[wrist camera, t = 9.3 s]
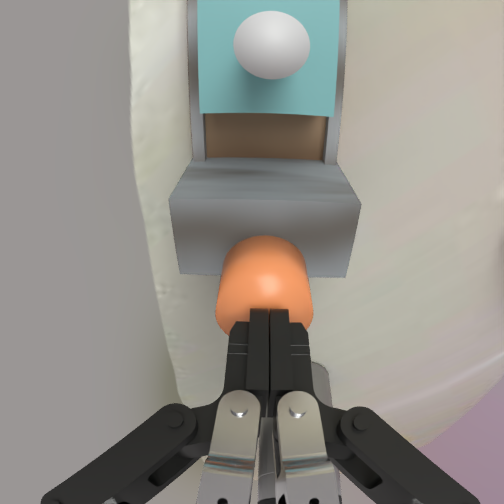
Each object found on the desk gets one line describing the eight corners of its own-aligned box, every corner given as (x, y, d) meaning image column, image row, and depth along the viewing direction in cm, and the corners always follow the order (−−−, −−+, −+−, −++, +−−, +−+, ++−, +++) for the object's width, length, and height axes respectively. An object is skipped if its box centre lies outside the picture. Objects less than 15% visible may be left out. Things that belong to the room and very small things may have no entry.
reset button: (301, 300, 16) (306, 346, 14) (224, 299, 16) (219, 344, 14) (310, 236, 14) (319, 281, 11) (220, 234, 14) (211, 278, 12)
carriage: (320, 104, 18) (368, 151, 10) (211, 102, 18) (168, 146, 10) (324, 4, 14) (380, -34, 6) (210, 1, 14) (162, -41, 6)
